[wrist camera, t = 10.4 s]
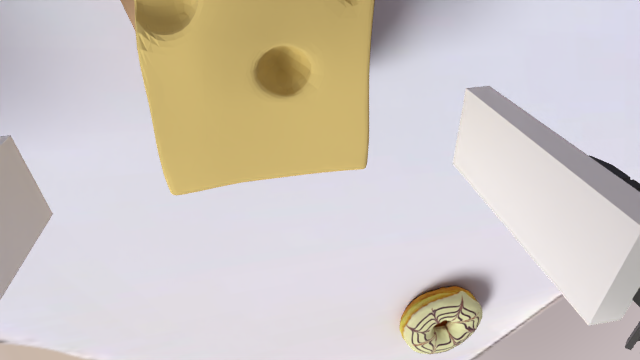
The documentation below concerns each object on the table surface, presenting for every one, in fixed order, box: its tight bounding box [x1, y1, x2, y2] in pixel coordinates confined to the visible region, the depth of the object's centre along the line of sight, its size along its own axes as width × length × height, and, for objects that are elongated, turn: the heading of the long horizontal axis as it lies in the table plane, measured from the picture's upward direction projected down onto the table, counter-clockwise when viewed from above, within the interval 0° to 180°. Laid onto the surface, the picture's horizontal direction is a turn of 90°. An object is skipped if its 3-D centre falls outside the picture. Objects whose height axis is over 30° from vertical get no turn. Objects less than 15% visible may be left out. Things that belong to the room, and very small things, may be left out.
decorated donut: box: [400, 286, 482, 354], centre depth 52 cm, size 10×11×4 cm
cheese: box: [134, 0, 375, 195], centre depth 21 cm, size 10×11×10 cm
